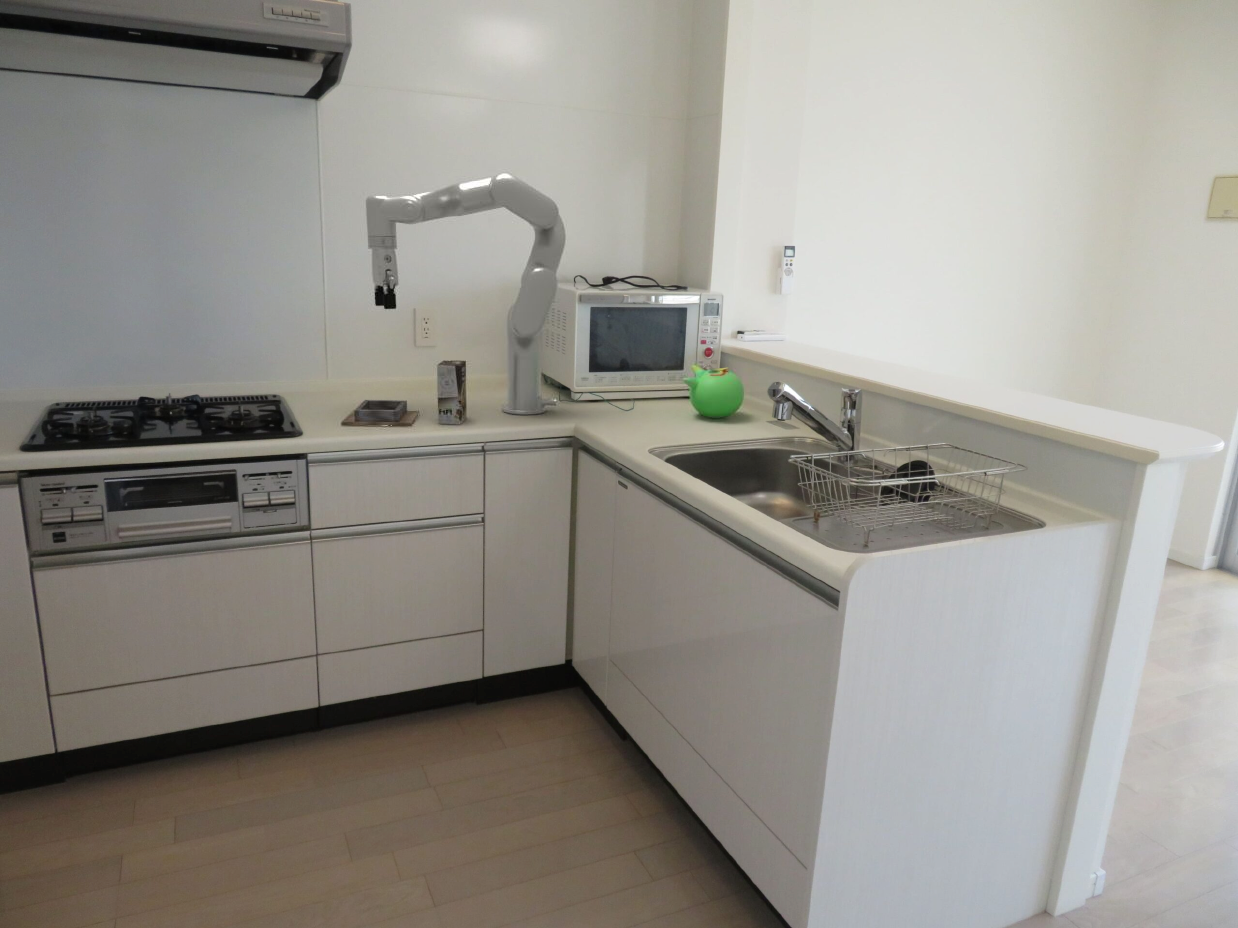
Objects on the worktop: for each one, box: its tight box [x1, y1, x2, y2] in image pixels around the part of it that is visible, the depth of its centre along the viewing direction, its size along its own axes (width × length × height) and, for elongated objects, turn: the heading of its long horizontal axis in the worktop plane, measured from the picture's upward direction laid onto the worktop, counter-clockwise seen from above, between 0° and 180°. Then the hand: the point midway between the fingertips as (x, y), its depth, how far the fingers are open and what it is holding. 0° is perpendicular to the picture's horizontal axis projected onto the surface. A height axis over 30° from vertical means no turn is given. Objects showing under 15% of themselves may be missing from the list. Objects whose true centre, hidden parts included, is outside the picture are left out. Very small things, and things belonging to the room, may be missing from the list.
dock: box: [340, 399, 421, 427], centre depth 243 cm, size 18×16×4 cm
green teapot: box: [682, 364, 745, 419], centre depth 260 cm, size 18×17×15 cm
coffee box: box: [436, 360, 468, 426], centre depth 243 cm, size 9×6×16 cm
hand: (385, 307), depth 247 cm, fingers open, 9 cm apart
